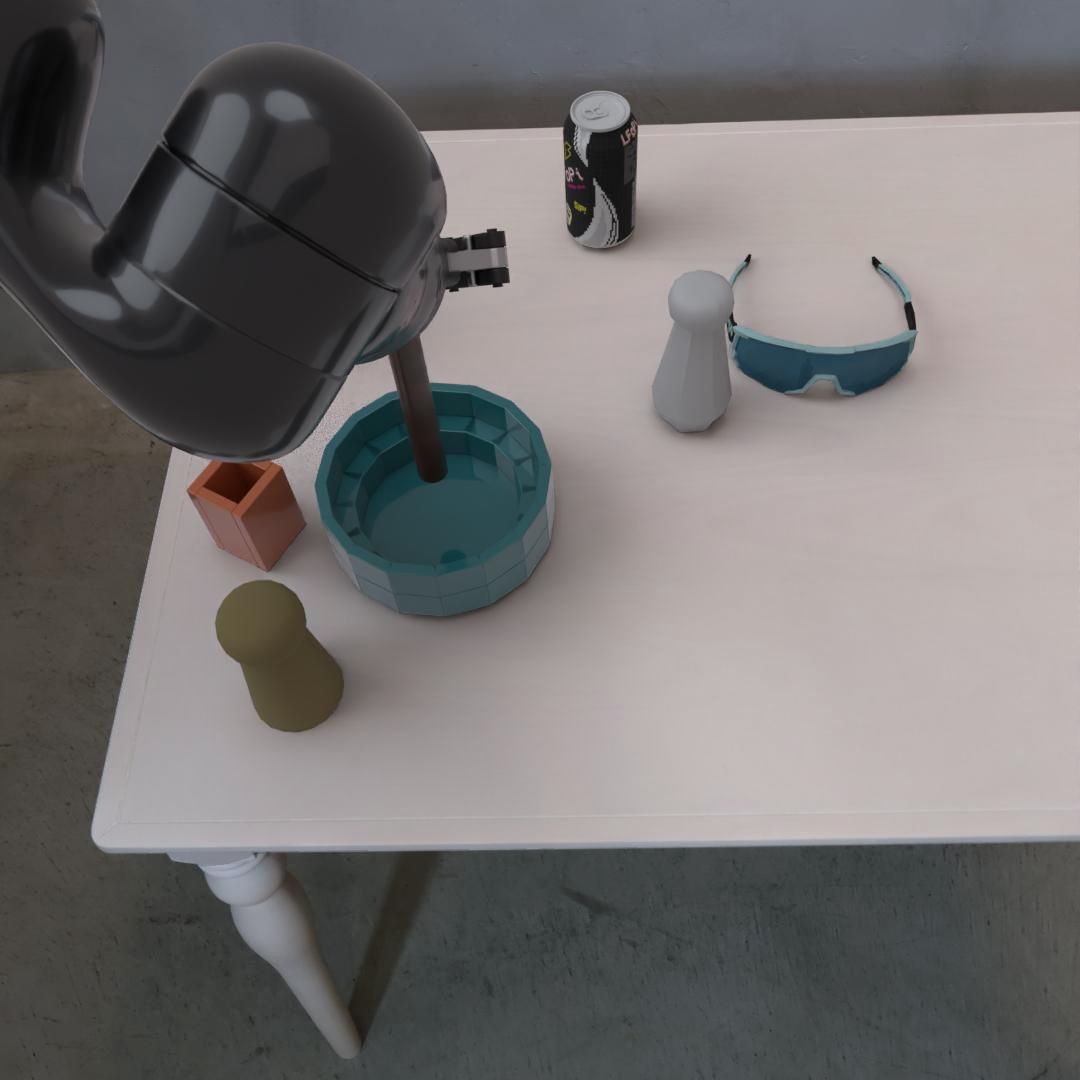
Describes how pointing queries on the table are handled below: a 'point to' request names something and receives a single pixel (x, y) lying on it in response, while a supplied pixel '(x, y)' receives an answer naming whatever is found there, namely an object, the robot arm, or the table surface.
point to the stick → (419, 411)
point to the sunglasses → (822, 353)
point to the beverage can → (600, 169)
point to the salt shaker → (695, 353)
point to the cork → (279, 656)
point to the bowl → (438, 503)
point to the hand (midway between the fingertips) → (392, 273)
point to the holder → (248, 509)
